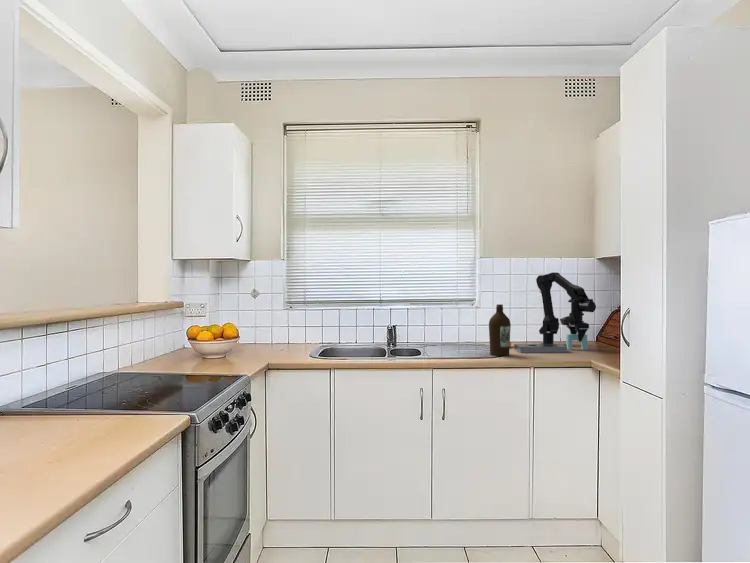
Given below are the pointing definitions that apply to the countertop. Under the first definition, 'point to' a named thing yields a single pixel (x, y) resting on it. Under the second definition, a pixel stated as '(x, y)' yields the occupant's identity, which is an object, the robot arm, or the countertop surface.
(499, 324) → the olive oil
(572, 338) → the clip
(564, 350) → the rail plate
